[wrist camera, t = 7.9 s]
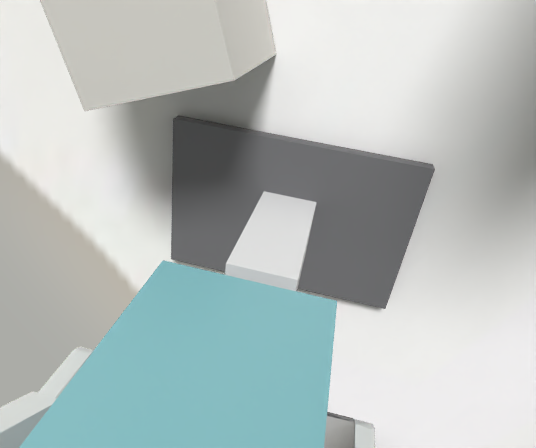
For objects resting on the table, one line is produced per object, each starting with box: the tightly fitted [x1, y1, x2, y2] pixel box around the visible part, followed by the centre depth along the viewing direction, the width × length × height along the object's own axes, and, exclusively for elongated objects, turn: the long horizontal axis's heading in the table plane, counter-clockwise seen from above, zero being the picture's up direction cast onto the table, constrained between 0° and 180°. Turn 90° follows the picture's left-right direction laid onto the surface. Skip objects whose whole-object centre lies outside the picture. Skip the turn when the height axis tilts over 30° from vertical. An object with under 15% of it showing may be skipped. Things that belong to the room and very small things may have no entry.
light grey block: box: [40, 0, 276, 111], centre depth 14 cm, size 5×5×7 cm
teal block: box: [19, 261, 337, 448], centre depth 10 cm, size 5×5×7 cm
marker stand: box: [171, 116, 435, 309], centre depth 18 cm, size 12×8×7 cm, turn 82°
